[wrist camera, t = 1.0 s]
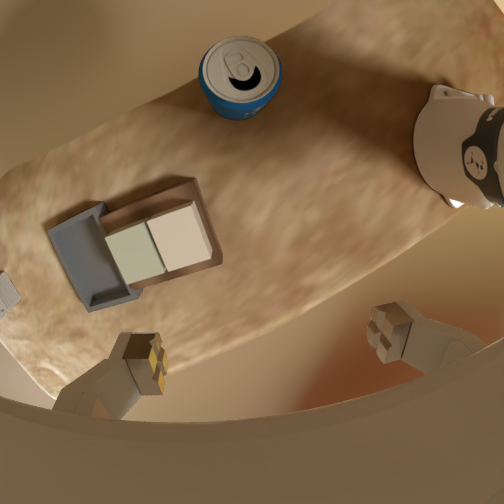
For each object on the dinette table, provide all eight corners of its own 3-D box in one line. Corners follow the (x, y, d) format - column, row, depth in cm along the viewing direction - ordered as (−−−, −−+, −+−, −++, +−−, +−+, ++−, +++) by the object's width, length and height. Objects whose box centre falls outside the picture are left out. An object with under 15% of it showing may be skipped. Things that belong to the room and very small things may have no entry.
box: (103, 201, 32) (95, 206, 29) (143, 289, 37) (138, 298, 34) (56, 225, 32) (46, 230, 30) (94, 303, 37) (88, 312, 35)
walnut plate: (195, 178, 32) (192, 181, 29) (222, 253, 35) (222, 263, 33) (109, 211, 32) (99, 218, 29) (139, 279, 36) (133, 290, 33)
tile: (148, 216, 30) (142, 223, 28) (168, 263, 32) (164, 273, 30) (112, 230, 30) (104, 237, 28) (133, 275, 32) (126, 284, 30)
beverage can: (224, 130, 30) (219, 122, 19) (199, 83, 27) (182, 52, 16) (275, 107, 29) (299, 88, 18) (251, 60, 27) (262, 20, 16)
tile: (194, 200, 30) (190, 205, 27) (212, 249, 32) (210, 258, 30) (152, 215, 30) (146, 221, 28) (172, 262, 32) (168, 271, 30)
